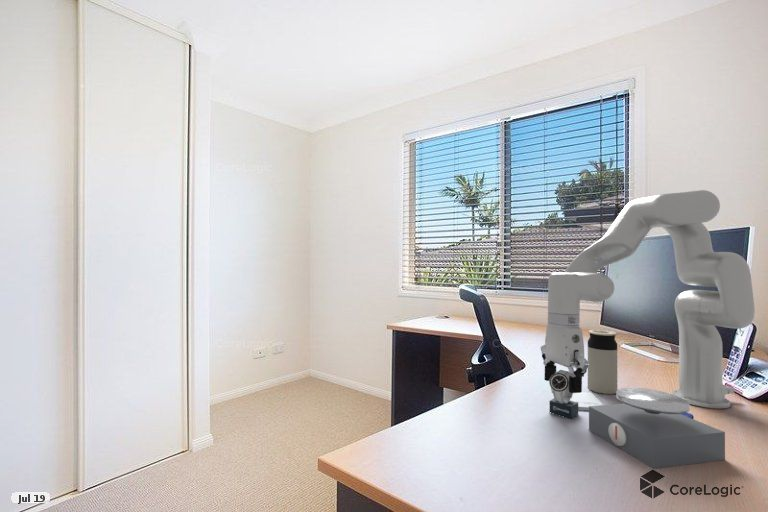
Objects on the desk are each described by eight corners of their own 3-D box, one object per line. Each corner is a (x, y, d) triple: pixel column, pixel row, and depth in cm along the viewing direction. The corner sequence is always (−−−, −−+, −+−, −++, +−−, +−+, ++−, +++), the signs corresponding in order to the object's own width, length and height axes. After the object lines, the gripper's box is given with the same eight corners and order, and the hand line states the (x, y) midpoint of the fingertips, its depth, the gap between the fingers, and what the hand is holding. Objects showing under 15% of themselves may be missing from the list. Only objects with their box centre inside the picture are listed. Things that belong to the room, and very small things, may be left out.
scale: (649, 424, 93) (649, 401, 93) (725, 459, 76) (724, 432, 76) (586, 430, 89) (586, 406, 89) (651, 468, 72) (651, 439, 72)
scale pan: (649, 398, 90) (649, 386, 90) (706, 421, 78) (706, 406, 78) (602, 402, 88) (602, 389, 88) (653, 426, 75) (653, 411, 75)
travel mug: (589, 392, 115) (589, 332, 115) (586, 384, 122) (586, 328, 123) (619, 396, 112) (619, 335, 112) (614, 388, 119) (614, 330, 120)
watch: (546, 414, 98) (546, 371, 98) (559, 406, 103) (559, 366, 103) (568, 421, 94) (568, 376, 94) (581, 413, 99) (581, 370, 99)
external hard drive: (592, 398, 112) (608, 414, 100) (562, 396, 114) (575, 411, 101) (592, 392, 112) (608, 408, 100) (562, 390, 114) (575, 405, 101)
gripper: (601, 325, 91) (600, 397, 91) (554, 315, 108) (553, 375, 108) (573, 325, 90) (572, 398, 89) (531, 315, 107) (529, 376, 106)
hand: (562, 386), depth 98 cm, fingers open, 9 cm apart
